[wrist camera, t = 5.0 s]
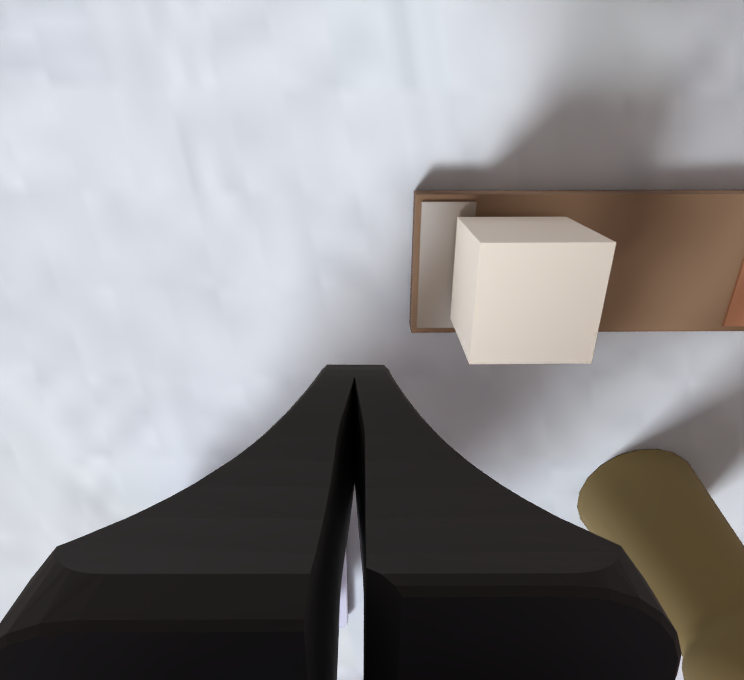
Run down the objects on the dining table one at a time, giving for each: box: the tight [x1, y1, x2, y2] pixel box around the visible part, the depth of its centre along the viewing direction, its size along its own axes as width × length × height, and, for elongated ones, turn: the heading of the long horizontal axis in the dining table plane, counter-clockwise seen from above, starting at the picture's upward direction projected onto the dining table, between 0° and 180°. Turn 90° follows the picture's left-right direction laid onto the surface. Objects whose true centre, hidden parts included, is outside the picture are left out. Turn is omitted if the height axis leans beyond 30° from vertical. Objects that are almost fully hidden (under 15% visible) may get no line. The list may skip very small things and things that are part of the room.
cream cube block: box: [450, 217, 616, 364], centre depth 17 cm, size 4×4×4 cm
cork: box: [577, 449, 744, 680], centre depth 20 cm, size 6×6×11 cm
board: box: [410, 190, 744, 333], centre depth 20 cm, size 15×6×1 cm, turn 90°
